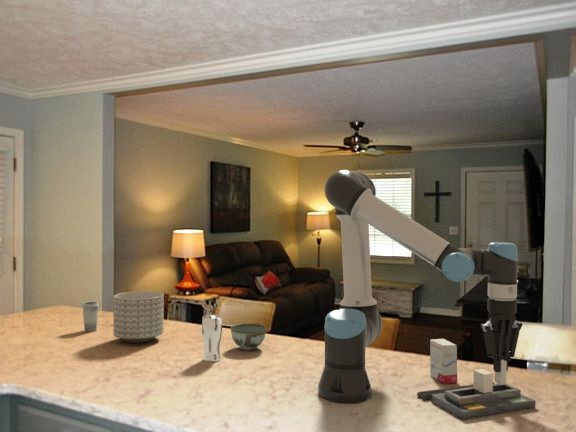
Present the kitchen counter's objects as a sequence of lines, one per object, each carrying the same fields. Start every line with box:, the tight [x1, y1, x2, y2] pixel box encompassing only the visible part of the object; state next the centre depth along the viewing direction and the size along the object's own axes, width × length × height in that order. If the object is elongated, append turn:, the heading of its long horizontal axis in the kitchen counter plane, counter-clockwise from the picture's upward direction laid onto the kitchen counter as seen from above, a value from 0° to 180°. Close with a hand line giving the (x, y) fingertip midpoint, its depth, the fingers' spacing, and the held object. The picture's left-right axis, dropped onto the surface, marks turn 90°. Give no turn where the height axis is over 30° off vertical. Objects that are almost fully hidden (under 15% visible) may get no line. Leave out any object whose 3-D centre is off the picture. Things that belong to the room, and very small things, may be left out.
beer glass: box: [201, 314, 223, 363], centre depth 180 cm, size 7×7×15 cm
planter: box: [113, 290, 165, 344], centre depth 204 cm, size 19×19×18 cm
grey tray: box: [430, 383, 536, 421], centre depth 141 cm, size 24×13×4 cm, turn 111°
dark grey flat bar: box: [416, 381, 496, 401], centre depth 150 cm, size 27×4×1 cm, turn 111°
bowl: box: [229, 323, 267, 352], centre depth 194 cm, size 14×13×8 cm
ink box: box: [429, 338, 458, 385], centre depth 161 cm, size 9×5×12 cm, turn 13°
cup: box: [81, 300, 100, 333], centre depth 219 cm, size 7×7×12 cm
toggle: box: [473, 368, 494, 395], centre depth 141 cm, size 4×4×7 cm
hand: (500, 382), depth 143 cm, fingers closed
